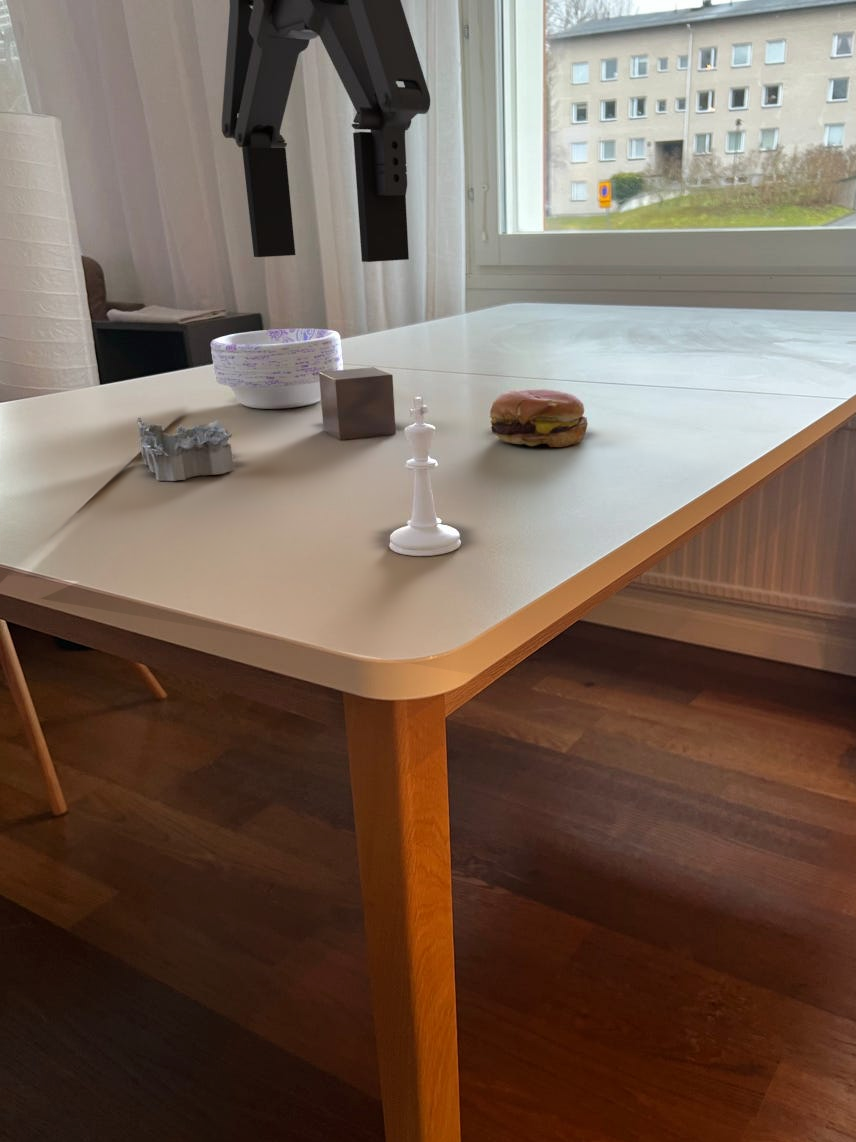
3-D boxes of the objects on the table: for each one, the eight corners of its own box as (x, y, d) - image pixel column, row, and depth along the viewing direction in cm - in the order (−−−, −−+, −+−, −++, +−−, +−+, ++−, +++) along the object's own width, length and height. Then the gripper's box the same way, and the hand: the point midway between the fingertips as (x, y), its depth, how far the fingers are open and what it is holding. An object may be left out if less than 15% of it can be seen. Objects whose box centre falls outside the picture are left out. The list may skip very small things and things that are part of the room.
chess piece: (472, 538, 69) (468, 393, 65) (441, 560, 65) (435, 406, 61) (410, 531, 71) (402, 389, 67) (376, 551, 67) (366, 402, 63)
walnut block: (340, 440, 100) (335, 379, 98) (323, 429, 105) (318, 371, 103) (396, 434, 102) (392, 374, 100) (377, 424, 107) (373, 367, 105)
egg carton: (140, 460, 94) (133, 417, 92) (220, 451, 97) (214, 409, 95) (152, 485, 85) (144, 437, 83) (240, 475, 88) (234, 428, 86)
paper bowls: (194, 412, 116) (184, 342, 112) (255, 390, 129) (248, 327, 126) (314, 416, 112) (307, 343, 109) (364, 393, 125) (359, 328, 122)
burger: (540, 425, 104) (540, 380, 103) (605, 438, 98) (607, 391, 96) (468, 440, 99) (467, 393, 97) (532, 456, 92) (532, 405, 90)
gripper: (491, -230, 46) (499, 259, 54) (251, -100, 64) (285, 252, 73) (352, -270, 42) (384, 266, 50) (137, -119, 60) (187, 257, 68)
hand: (325, 259), depth 62 cm, fingers open, 13 cm apart
